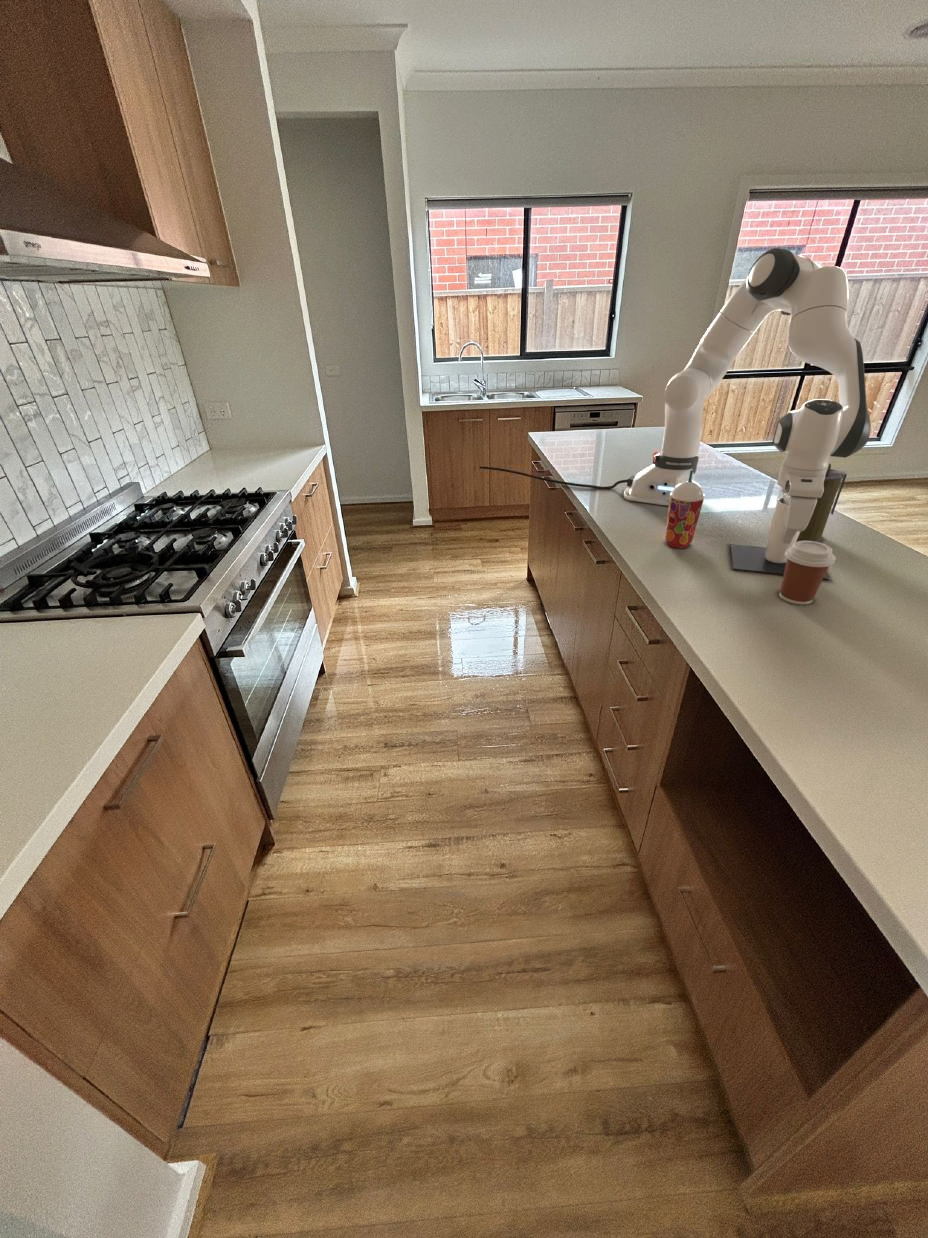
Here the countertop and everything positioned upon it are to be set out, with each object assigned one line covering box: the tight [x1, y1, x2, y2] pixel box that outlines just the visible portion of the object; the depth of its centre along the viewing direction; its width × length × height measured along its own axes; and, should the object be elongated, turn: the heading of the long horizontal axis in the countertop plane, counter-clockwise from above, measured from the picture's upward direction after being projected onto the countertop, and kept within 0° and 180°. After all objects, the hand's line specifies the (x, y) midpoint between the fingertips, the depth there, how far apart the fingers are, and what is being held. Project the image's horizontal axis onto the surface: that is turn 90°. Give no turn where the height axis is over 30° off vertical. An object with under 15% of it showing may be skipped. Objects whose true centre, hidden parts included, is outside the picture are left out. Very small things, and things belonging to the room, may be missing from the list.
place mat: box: [729, 543, 830, 581], centre depth 127 cm, size 20×15×1 cm
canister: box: [796, 462, 848, 542], centre depth 134 cm, size 11×10×20 cm
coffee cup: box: [778, 541, 837, 605], centre depth 109 cm, size 9×9×12 cm
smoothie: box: [664, 470, 706, 549], centre depth 133 cm, size 8×8×20 cm
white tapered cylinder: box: [765, 498, 801, 564], centre depth 123 cm, size 7×7×15 cm
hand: (783, 534), depth 123 cm, fingers open, 8 cm apart
